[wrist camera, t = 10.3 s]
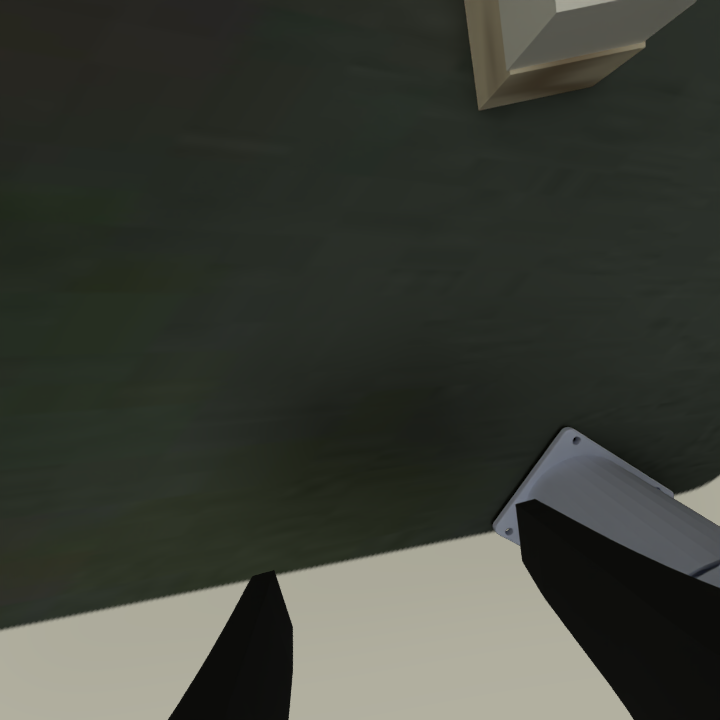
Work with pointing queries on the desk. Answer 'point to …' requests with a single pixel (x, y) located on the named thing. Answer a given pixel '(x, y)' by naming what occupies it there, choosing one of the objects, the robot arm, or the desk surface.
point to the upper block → (578, 27)
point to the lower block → (534, 80)
